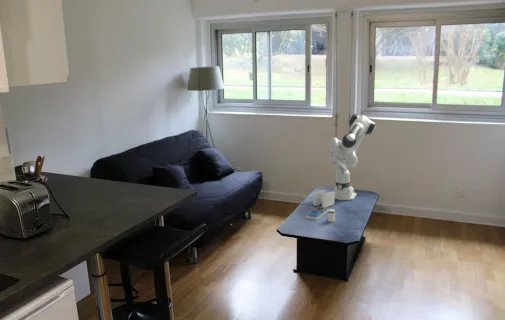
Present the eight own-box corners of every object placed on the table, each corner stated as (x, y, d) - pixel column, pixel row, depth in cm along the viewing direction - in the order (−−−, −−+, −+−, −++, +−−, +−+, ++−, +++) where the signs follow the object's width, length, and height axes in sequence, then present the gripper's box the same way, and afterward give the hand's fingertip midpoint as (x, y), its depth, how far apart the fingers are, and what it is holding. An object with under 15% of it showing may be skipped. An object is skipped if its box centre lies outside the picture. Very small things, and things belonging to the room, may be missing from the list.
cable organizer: (322, 209, 353) (322, 195, 351) (312, 206, 361) (312, 192, 358) (334, 204, 363) (334, 191, 360) (324, 201, 371) (324, 188, 368)
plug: (329, 219, 334) (329, 208, 332) (334, 219, 333) (334, 209, 331) (328, 221, 331) (328, 210, 329) (333, 221, 329) (333, 211, 327)
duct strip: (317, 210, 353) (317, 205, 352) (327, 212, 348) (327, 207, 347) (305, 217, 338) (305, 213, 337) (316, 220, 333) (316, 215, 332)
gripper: (334, 149, 329) (338, 164, 321) (346, 160, 343) (350, 175, 335) (326, 152, 332) (330, 168, 324) (339, 163, 346) (342, 179, 338)
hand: (340, 172), depth 330 cm, fingers open, 8 cm apart
